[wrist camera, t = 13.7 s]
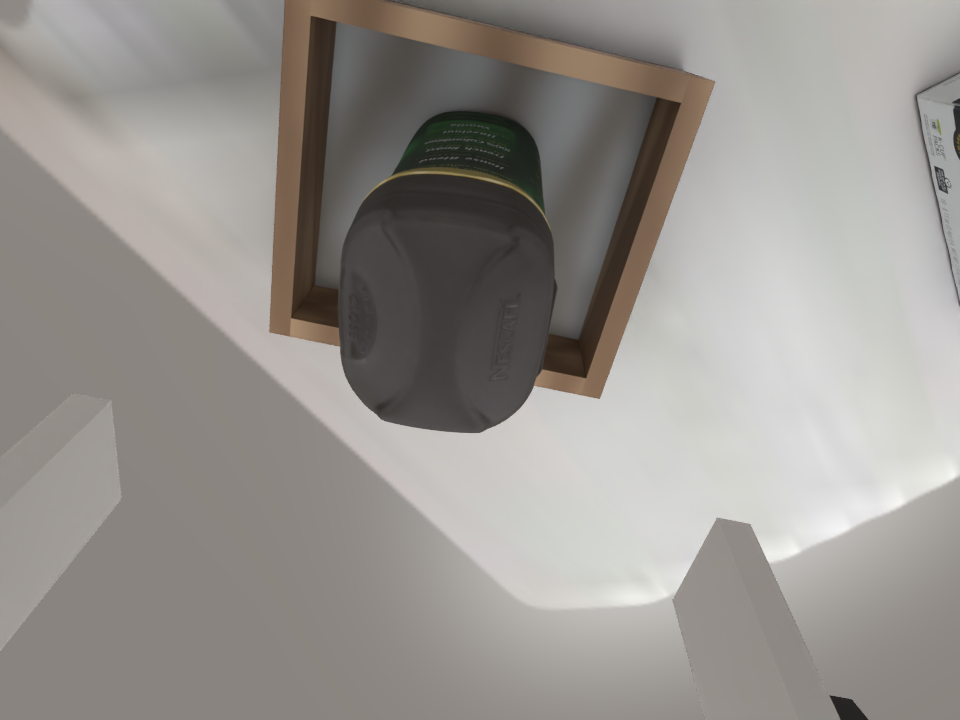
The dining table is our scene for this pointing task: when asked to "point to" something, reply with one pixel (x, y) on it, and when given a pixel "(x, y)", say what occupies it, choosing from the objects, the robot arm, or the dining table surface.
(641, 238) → the walnut crate
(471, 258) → the coffee jar
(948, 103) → the tea box
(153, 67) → the dining table surface
